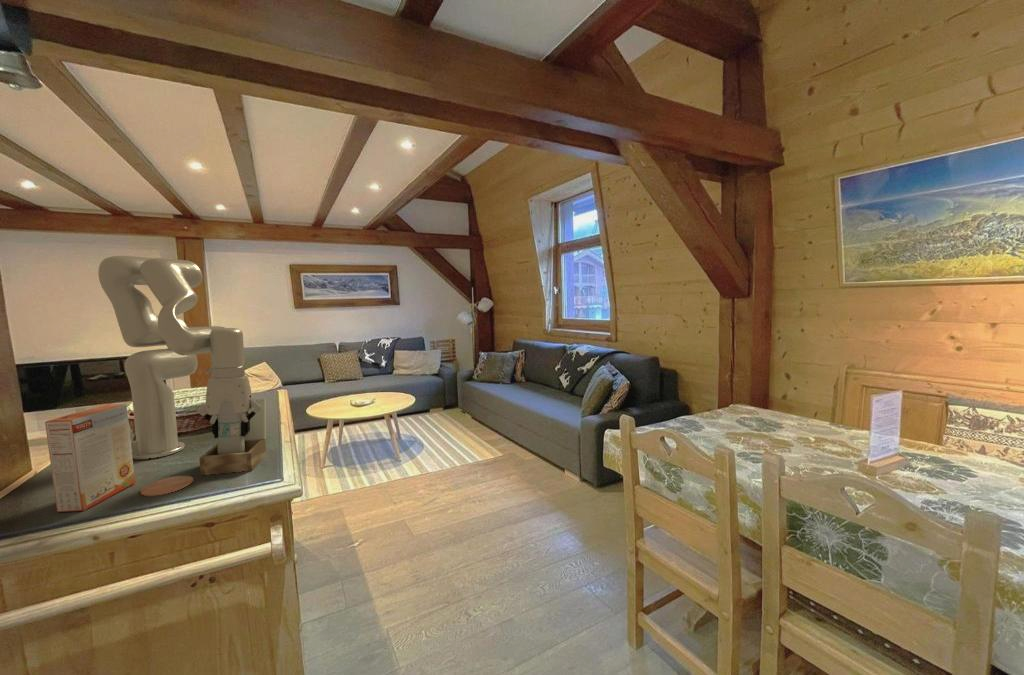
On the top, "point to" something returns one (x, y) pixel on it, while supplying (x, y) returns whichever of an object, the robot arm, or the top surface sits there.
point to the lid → (257, 423)
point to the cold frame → (233, 459)
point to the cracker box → (90, 456)
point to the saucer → (166, 485)
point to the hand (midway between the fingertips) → (231, 435)
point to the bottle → (229, 430)
